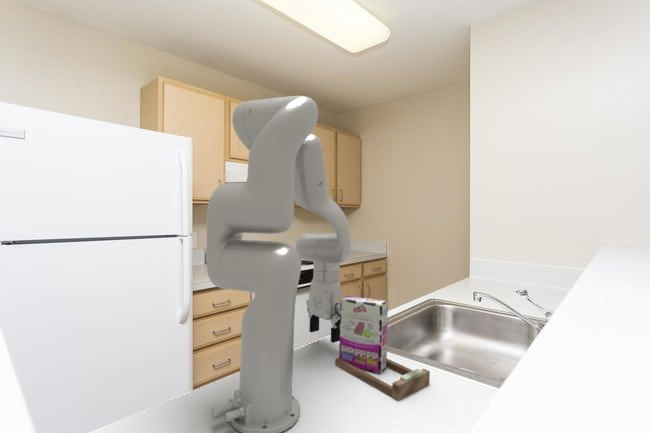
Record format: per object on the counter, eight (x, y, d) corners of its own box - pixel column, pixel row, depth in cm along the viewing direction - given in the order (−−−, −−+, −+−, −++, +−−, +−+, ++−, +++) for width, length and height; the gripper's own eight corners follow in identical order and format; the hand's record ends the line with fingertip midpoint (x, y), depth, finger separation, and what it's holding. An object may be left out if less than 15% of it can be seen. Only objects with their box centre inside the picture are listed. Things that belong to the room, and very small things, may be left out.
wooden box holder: (398, 400, 64) (398, 382, 65) (335, 365, 80) (335, 350, 80) (429, 384, 71) (429, 368, 71) (365, 354, 86) (366, 341, 87)
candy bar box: (387, 367, 79) (389, 300, 80) (380, 375, 75) (382, 304, 75) (346, 356, 85) (348, 294, 85) (337, 363, 81) (339, 298, 81)
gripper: (298, 272, 96) (296, 330, 96) (336, 282, 83) (334, 349, 83) (318, 271, 101) (316, 325, 101) (356, 279, 88) (355, 342, 87)
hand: (324, 336), depth 92 cm, fingers open, 9 cm apart
